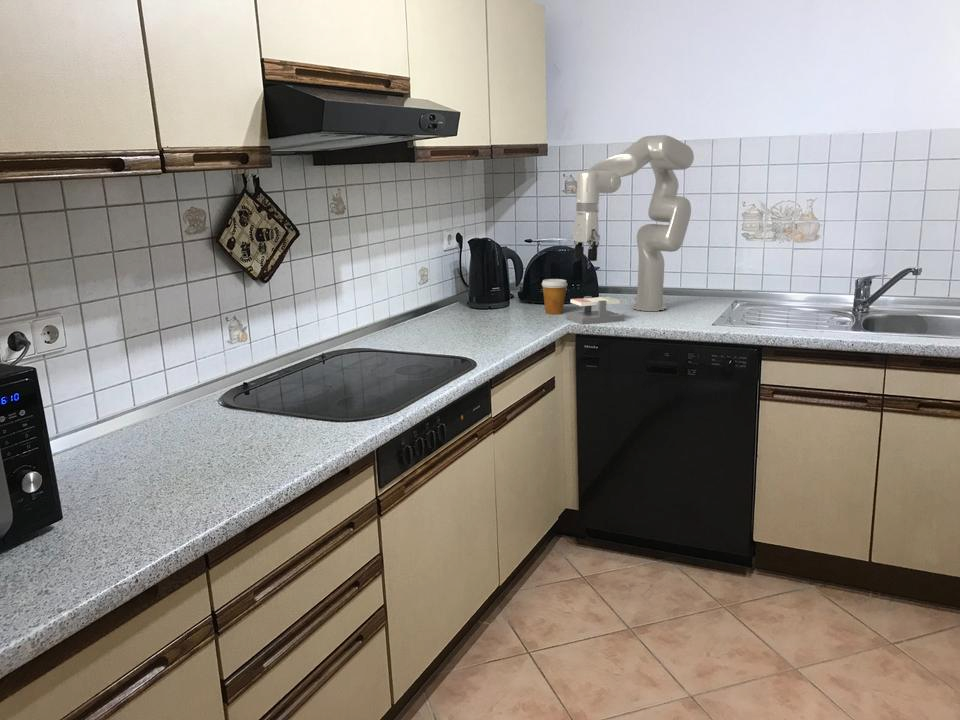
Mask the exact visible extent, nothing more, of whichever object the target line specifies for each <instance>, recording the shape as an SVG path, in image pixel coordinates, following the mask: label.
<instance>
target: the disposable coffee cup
mask: <svg viewBox="0 0 960 720" xmlns="http://www.w3.org/2000/svg"><path fill="white" fill-rule="evenodd" d="M541 286H542V291H543V292H542V293H543V301H544V302H543V303H544V310H545V311H544V312H545V314H547V315H562V314H563V312H564V307H565V299H566V298H565V297H566V292H567V287H568V282H567V280H566V279H561V278H547V279H543V280H542V282H541Z"/></svg>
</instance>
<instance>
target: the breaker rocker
mask: <svg viewBox="0 0 960 720" xmlns="http://www.w3.org/2000/svg"><path fill="white" fill-rule="evenodd" d="M602 300H605V301H606V305H617V304H618V305H619V304H620V303H621V302H620V301H621V300H620V299H619V298H614V297H611V296H600V297H592V298H584V297H583V298H581V297H580V298H570V303H569V304H573V305H576V306H578V307H584V306H591V307H592V306H598V301H602Z"/></svg>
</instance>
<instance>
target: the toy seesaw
mask: <svg viewBox="0 0 960 720" xmlns="http://www.w3.org/2000/svg"><path fill="white" fill-rule="evenodd" d="M583 298H593V297H592V296H591V295H589V296H588V295H587V296H584V297H583ZM597 306H598V309H597V310H592V306H583V311H576V312H575V311H574V312H566V315H565V318H566V320H569V321H572V322H575V323H578V324H580V325H590V324H603V323H614V322H616V323H617V322H624V315H623V314H621V313H620V314H619V313H618V312H614V311H610V310H607V304H606V301H605V300H602V301H598V305H597Z"/></svg>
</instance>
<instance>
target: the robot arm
mask: <svg viewBox="0 0 960 720" xmlns="http://www.w3.org/2000/svg"><path fill="white" fill-rule="evenodd" d="M694 154H695V153H694V151H693V150H692V147H691V146H689V145H687V144H686V143H684V142H683V141H681V140H679V139H676V138H675V137H673V136H671V135H667V134H661V135H659V134H657V135H656V134H655V135H646V136H643V137H641V138H639V139H637V141H635V142H634V143H633V144H631V145H630V146H629V147H627V148H626V149H624V150H623V151H622V152H619V153H617V154H615V155H612V156H610V157H608V158H606V159H603V160H601V161H599V162H596V163H595V164H593V165H592V166H591V167H589V168H588V169H587V170H582V171H579V172H578V173H577V178H576V179H577V180H576V201H575V202H576V207H575V216H574V223H573V234H572V235H573V236H572V237H573V238H572V239H573V243H574V244H573V246H574V259H584V244H586V243H587V245H588V249H587V261H588V262H596V261H597V260H598V249H599V245H600V241H601V236H600V235H599V234H600V233H599V211H600V209H599V208H600V204H599V203H600V194H613V193H616V192H618V190H620V187H621V184H622V179H621V178H623V177H628V176H631V175H634V174H635V173H637V172H638V171H640V170H641V169H642V168H643V167H645V166H646V165H647V164H650V167H651V168H652V171H653V174H654V178H655V185H654V189H653V192H652V195H651V198H650V199H651V200H650V202H649V207H648V213H647V214H648V215H647V216H648V217H649V219H650V220H652V221H653V222H658V223H657V224H656V223H649V224H644V225H642V226H640V228H638V230H637V233H636V245H637V251H638V268H637V292H636V296H634V297H633V300H634V301H636V303H634V304H632V307H631V308H632V309H633V310H635V309H636V310H637V311H640V310H641V312H642V311H643V312H660V311H659V310H663V311H665V310H664V309H666V310H667V305H665V304H663V301H664V299H663V298H664V282H665V281H664V280H665V278H664V277H665V258H664V256H663V254H662V252H668V253H669V252H670V253H672V252H677V251H678V250H679V249H681V248H682V246H683V244H684V241H685V238H686V233H687V230H688V227H689V223H690V219H691V214H692V206H691V202H690V200H689V199H688V198H687V197H685V196H679V195H678V194H677V193H678V191H679V179H678V177H677V176H676V173H675V172H674V171H682V170H683V171H684V170H688V169H689V168H690V167H691V166H692V165H693V162H694V160H695V159H694V158H695V155H694ZM659 223H660V224H659ZM661 223H668V224H661Z"/></svg>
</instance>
